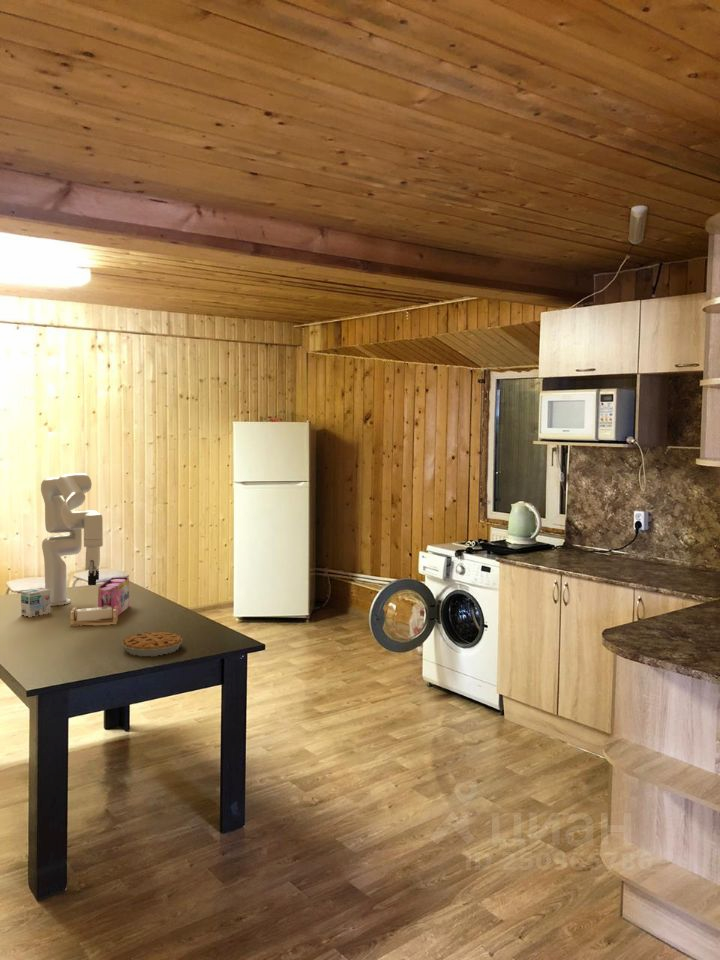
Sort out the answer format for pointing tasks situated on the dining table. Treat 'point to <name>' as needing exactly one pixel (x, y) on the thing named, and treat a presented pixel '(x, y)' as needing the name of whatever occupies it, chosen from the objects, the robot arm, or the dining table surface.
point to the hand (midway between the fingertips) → (93, 582)
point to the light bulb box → (35, 602)
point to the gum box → (114, 594)
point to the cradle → (94, 622)
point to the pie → (152, 643)
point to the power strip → (93, 613)
